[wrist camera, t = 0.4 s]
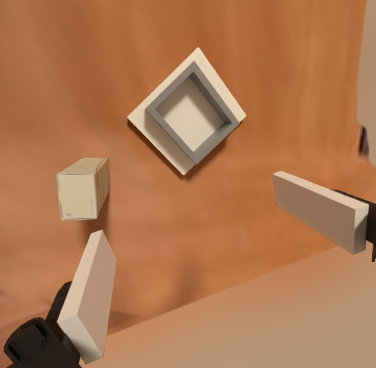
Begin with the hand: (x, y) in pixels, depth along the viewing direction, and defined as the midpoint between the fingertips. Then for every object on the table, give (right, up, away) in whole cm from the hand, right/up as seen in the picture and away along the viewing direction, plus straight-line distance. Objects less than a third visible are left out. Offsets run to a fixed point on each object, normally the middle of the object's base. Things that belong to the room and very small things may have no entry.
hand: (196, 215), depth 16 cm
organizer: (-1, +15, +22) cm, 27 cm away
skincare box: (-17, +4, +22) cm, 28 cm away
